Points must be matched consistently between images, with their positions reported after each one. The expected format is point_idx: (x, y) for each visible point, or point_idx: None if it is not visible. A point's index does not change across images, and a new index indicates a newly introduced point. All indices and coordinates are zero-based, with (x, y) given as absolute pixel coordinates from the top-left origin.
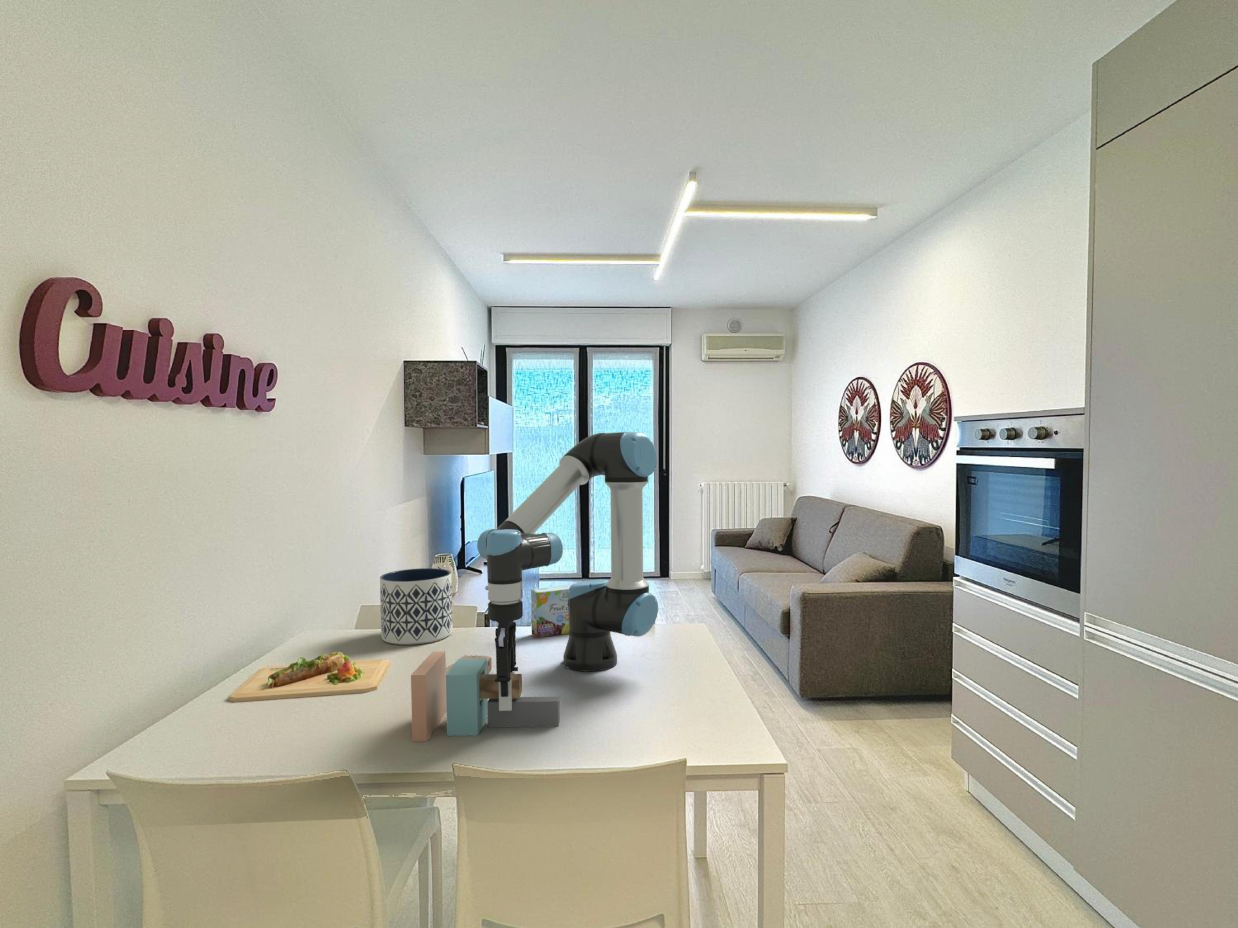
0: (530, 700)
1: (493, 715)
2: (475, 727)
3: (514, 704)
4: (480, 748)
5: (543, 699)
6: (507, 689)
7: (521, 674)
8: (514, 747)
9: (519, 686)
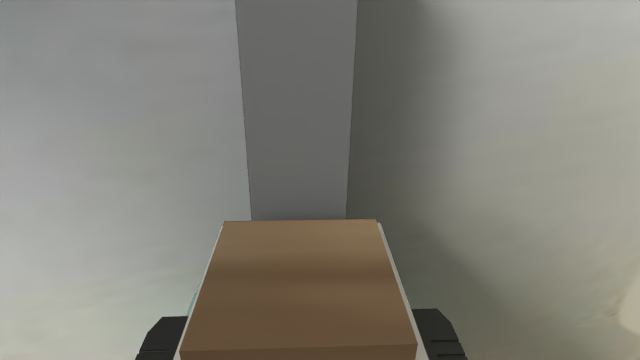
0: (324, 127)
1: None
2: None
3: None
4: (527, 258)
5: (308, 11)
6: (456, 358)
7: (204, 347)
8: (563, 131)
9: (379, 280)
